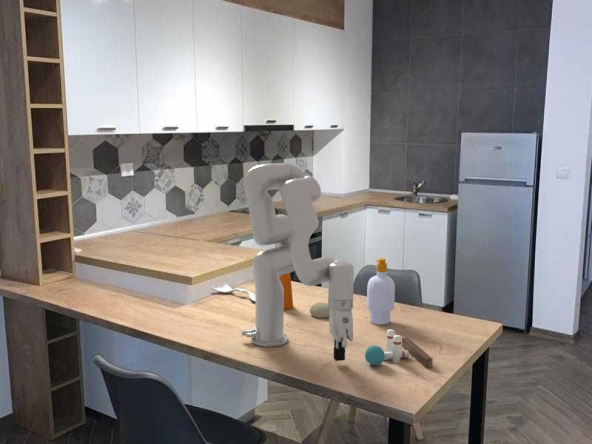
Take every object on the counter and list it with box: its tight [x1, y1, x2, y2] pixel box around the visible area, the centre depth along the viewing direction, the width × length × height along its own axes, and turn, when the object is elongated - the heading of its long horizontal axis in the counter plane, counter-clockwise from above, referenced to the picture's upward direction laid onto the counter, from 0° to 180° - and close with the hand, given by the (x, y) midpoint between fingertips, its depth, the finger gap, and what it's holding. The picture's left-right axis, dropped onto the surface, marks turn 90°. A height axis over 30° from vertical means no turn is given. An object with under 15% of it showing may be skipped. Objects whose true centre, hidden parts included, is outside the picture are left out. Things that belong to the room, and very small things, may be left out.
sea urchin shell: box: [309, 302, 330, 319], centre depth 228 cm, size 9×8×8 cm
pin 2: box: [391, 334, 402, 365], centre depth 185 cm, size 2×2×8 cm
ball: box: [364, 344, 385, 366], centre depth 183 cm, size 6×6×6 cm
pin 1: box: [385, 329, 396, 352], centre depth 189 cm, size 2×2×8 cm
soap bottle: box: [366, 258, 396, 326], centre depth 219 cm, size 10×10×24 cm
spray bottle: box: [279, 272, 294, 311], centre depth 233 cm, size 7×11×26 cm, turn 159°
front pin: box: [383, 349, 410, 361], centre depth 188 cm, size 2×2×8 cm
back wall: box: [401, 337, 434, 369], centre depth 190 cm, size 2×18×3 cm, turn 14°
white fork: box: [212, 282, 256, 303], centre depth 250 cm, size 9×32×4 cm, turn 54°
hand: (339, 359), depth 183 cm, fingers closed
